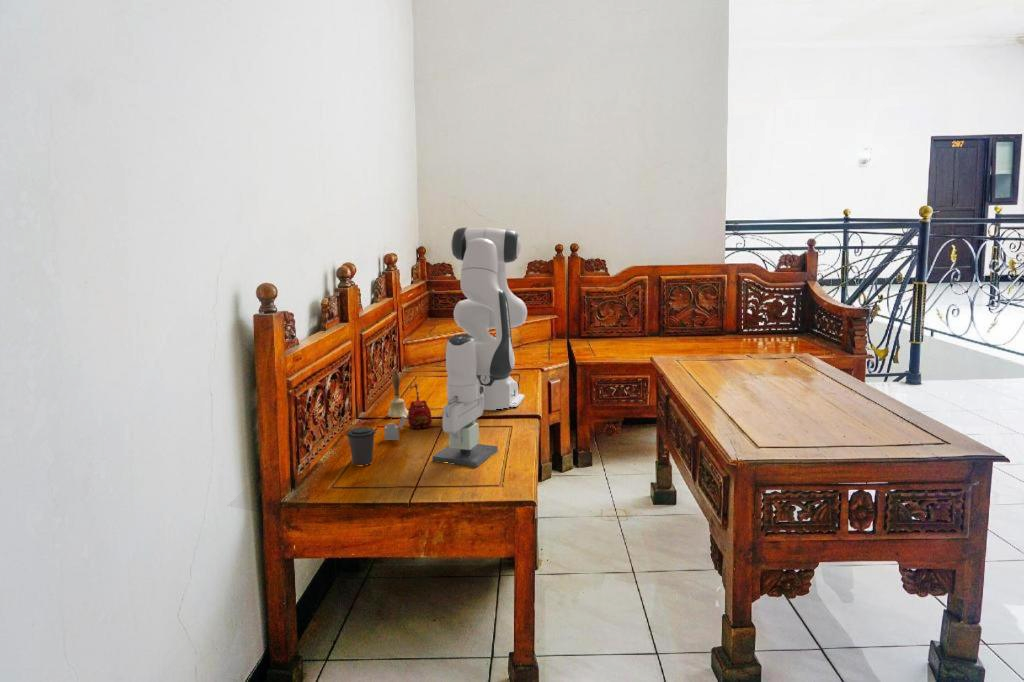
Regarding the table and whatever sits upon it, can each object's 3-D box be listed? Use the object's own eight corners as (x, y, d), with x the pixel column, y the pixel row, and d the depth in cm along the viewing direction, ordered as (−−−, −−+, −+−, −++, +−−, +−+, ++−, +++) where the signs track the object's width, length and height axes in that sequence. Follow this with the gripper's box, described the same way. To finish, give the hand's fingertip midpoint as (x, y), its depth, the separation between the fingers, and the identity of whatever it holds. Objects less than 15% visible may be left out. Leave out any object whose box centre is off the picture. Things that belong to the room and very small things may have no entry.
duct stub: (455, 445, 217) (454, 425, 216) (497, 451, 212) (497, 429, 211) (432, 461, 205) (431, 439, 203) (476, 467, 199) (476, 444, 198)
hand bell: (383, 418, 247) (380, 373, 244) (390, 411, 255) (387, 367, 252) (406, 419, 246) (404, 373, 243) (413, 412, 254) (410, 367, 251)
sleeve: (459, 440, 212) (458, 421, 211) (479, 442, 209) (478, 423, 208) (449, 447, 206) (448, 427, 205) (469, 449, 203) (469, 429, 202)
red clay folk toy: (410, 431, 232) (408, 386, 230) (406, 425, 239) (404, 381, 236) (433, 428, 235) (431, 383, 232) (429, 422, 241) (427, 378, 239)
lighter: (385, 441, 223) (383, 416, 222) (385, 439, 225) (384, 414, 224) (408, 440, 224) (406, 415, 222) (408, 438, 225) (407, 413, 224)
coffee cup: (352, 458, 209) (350, 424, 207) (380, 457, 208) (378, 424, 207) (345, 468, 201) (342, 433, 199) (374, 467, 200) (371, 433, 199)
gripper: (456, 402, 194) (458, 451, 197) (487, 384, 213) (488, 429, 215) (435, 400, 196) (437, 449, 199) (467, 383, 215) (469, 428, 218)
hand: (464, 439), depth 207 cm, fingers closed on sleeve, 6 cm apart
